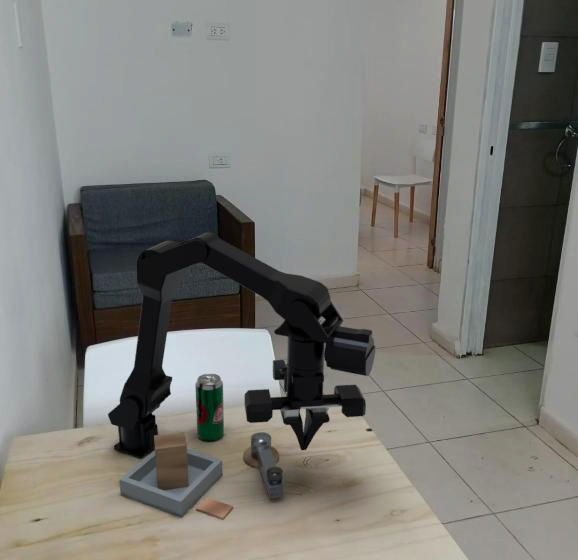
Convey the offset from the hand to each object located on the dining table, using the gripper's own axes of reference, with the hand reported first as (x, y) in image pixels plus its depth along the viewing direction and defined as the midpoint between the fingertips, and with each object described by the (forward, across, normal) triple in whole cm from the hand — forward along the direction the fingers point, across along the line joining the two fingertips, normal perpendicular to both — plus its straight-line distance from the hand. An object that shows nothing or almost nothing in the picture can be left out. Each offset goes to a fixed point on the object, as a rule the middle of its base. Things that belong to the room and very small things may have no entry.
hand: (303, 448), depth 101 cm
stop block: (+7, +21, -4) cm, 23 cm away
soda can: (+8, +15, -18) cm, 24 cm away
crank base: (+8, +10, -4) cm, 13 cm away
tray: (+8, +21, -3) cm, 23 cm away
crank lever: (+7, +5, -4) cm, 10 cm away
